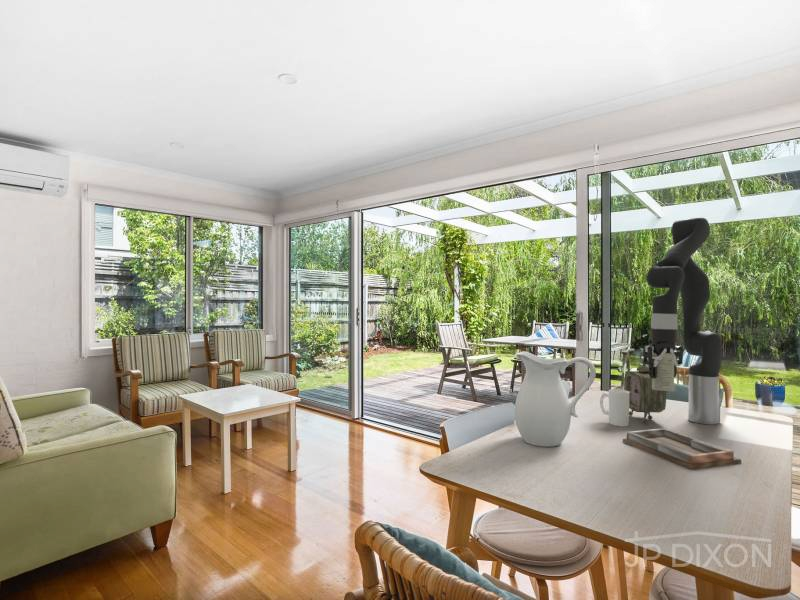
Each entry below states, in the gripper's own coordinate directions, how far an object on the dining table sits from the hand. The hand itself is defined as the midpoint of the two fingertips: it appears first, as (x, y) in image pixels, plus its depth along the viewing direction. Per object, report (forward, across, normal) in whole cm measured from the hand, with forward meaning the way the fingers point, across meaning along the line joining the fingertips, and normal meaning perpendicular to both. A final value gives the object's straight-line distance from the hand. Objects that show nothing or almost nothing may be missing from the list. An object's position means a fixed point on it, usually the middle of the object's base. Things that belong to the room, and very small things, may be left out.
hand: (662, 377), depth 148 cm
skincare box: (+4, 0, 0) cm, 4 cm away
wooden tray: (+20, +6, +12) cm, 24 cm away
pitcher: (+21, +37, -4) cm, 43 cm away
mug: (+20, +3, -18) cm, 27 cm away
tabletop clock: (+19, -12, -19) cm, 30 cm away
